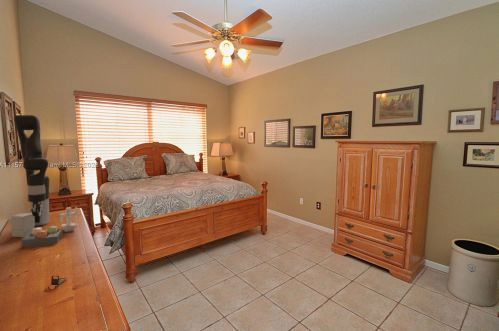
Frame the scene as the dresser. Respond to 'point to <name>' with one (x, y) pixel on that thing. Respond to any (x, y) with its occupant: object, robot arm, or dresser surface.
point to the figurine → (68, 219)
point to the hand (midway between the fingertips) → (37, 222)
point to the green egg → (52, 229)
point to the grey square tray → (41, 239)
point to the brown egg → (41, 233)
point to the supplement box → (22, 224)
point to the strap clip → (57, 280)
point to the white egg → (34, 230)
